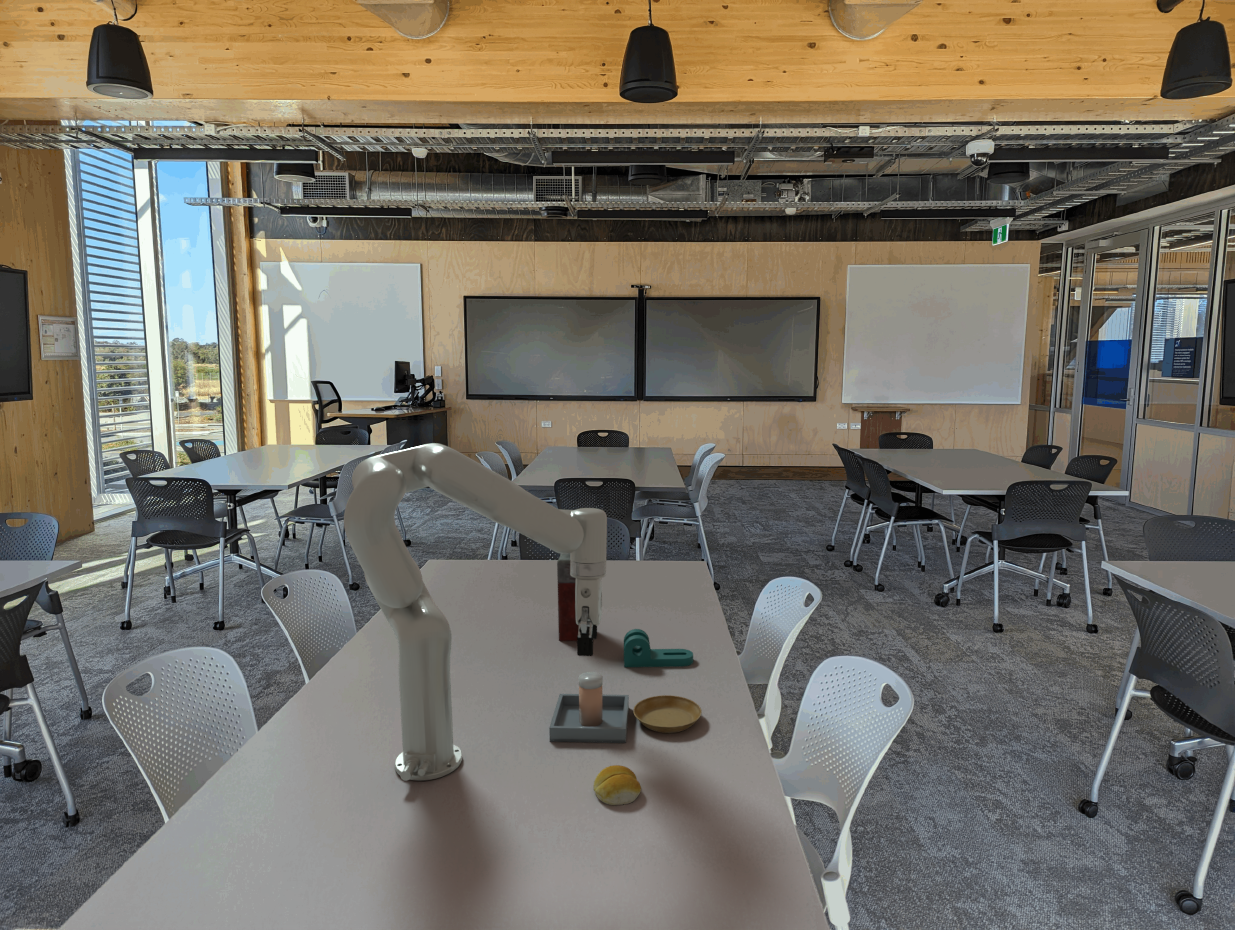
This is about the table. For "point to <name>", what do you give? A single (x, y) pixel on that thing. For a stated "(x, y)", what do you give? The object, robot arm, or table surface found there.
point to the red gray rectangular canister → (566, 600)
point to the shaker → (590, 699)
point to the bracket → (652, 653)
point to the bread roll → (616, 785)
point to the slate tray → (608, 731)
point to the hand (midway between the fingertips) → (587, 646)
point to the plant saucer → (667, 713)
